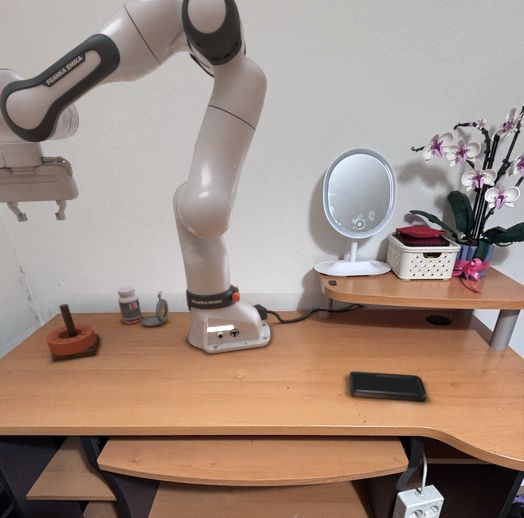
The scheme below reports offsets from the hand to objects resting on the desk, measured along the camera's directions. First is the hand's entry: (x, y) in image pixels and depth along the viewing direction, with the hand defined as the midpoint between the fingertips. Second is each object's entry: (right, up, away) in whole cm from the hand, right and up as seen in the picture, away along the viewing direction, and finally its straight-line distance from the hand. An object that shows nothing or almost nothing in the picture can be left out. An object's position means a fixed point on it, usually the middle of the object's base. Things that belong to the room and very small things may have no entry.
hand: (42, 220), depth 93 cm
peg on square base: (+5, -32, +7) cm, 33 cm away
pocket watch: (+23, -24, +19) cm, 38 cm away
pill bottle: (+15, -23, +22) cm, 35 cm away
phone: (+81, -40, -13) cm, 91 cm away
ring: (+5, -30, +6) cm, 31 cm away
